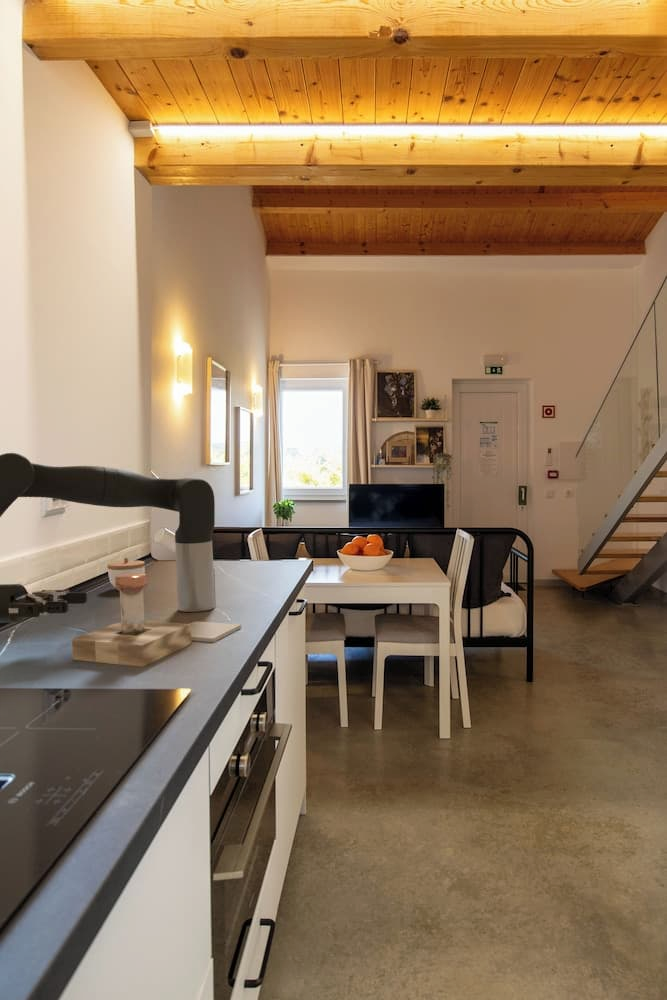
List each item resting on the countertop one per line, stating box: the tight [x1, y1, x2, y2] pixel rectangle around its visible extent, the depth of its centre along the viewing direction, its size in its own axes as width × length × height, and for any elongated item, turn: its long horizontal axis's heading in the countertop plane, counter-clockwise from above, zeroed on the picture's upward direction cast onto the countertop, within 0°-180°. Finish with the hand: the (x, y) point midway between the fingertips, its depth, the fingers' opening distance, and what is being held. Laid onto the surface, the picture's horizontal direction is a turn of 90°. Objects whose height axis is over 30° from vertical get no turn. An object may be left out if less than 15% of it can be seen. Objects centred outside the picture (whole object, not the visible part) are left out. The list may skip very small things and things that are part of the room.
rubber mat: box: [189, 620, 242, 643], centre depth 143 cm, size 12×12×1 cm
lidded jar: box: [107, 557, 146, 591], centre depth 198 cm, size 11×11×9 cm
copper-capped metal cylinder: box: [114, 573, 148, 636], centre depth 130 cm, size 6×6×15 cm
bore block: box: [71, 620, 192, 668], centre depth 130 cm, size 16×16×4 cm
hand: (77, 602), depth 130 cm, fingers open, 8 cm apart
